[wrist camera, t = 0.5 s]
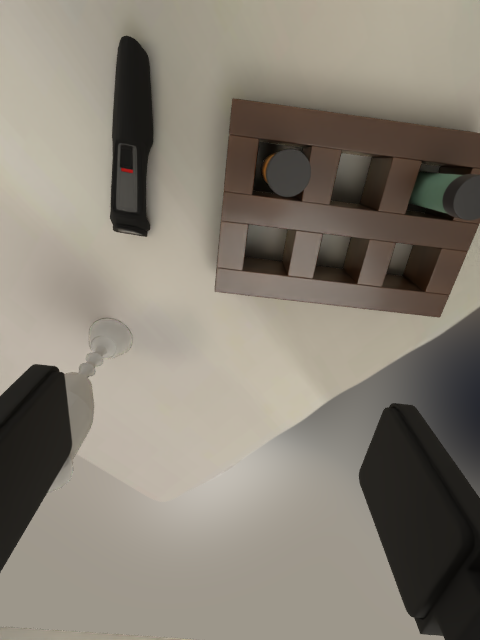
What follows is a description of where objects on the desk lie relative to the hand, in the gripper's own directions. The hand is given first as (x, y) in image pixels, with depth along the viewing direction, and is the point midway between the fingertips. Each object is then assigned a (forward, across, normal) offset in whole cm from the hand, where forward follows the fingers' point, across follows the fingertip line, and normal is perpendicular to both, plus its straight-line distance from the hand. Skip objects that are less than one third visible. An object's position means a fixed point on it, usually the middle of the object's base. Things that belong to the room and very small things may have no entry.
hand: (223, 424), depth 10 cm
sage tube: (+27, -16, -7) cm, 32 cm away
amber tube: (+27, -3, -7) cm, 28 cm away
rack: (+27, -10, -4) cm, 29 cm away
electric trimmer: (+27, +10, -6) cm, 30 cm away
